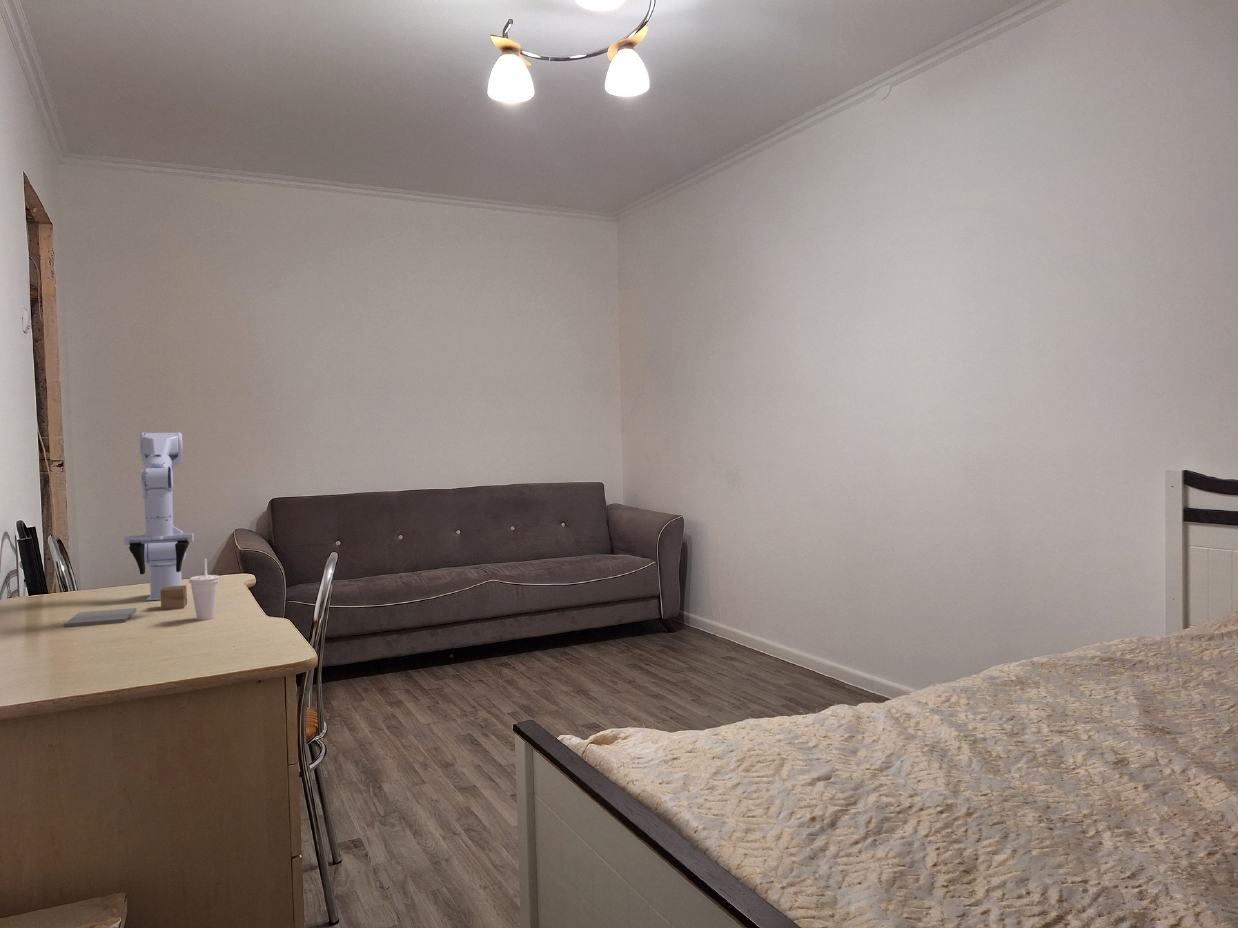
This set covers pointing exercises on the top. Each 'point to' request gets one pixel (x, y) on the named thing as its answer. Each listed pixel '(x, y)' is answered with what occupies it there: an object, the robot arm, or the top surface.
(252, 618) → the top surface
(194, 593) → the smoothie
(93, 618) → the coaster
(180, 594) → the walnut cube
